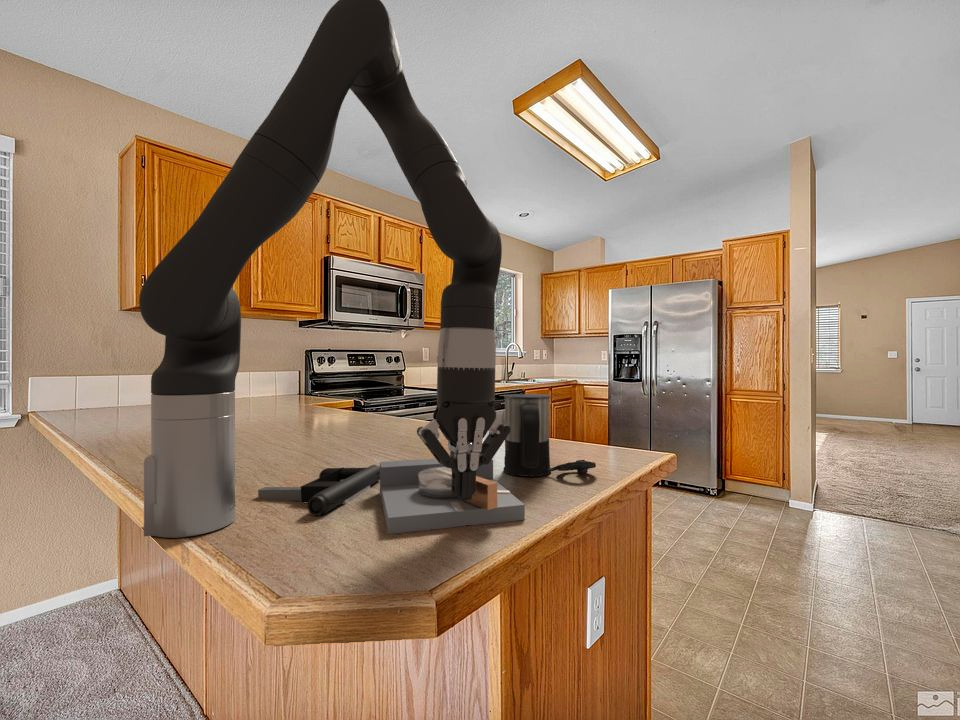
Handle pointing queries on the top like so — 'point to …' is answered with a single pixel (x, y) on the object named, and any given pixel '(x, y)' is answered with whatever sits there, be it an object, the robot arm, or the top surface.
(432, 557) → the top surface
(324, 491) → the door handle
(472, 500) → the dial
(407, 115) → the robot arm
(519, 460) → the milk frother
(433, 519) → the panel
